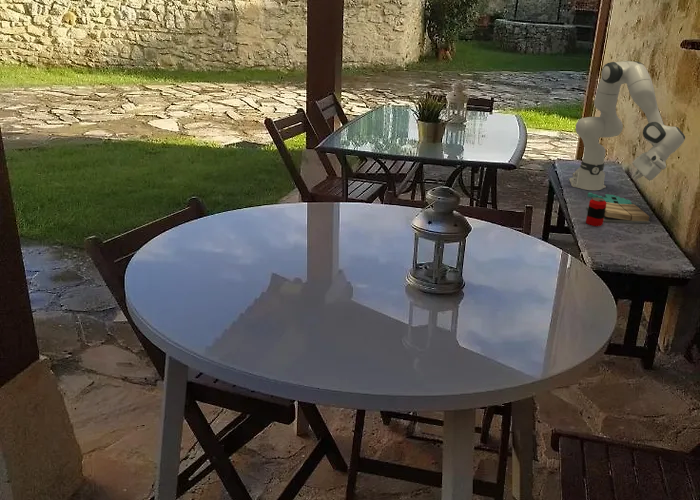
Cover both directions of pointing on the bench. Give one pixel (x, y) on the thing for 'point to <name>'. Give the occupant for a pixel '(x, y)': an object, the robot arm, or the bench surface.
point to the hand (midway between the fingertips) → (633, 179)
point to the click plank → (616, 211)
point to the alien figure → (611, 198)
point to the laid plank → (635, 212)
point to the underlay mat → (621, 220)
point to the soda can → (596, 212)
